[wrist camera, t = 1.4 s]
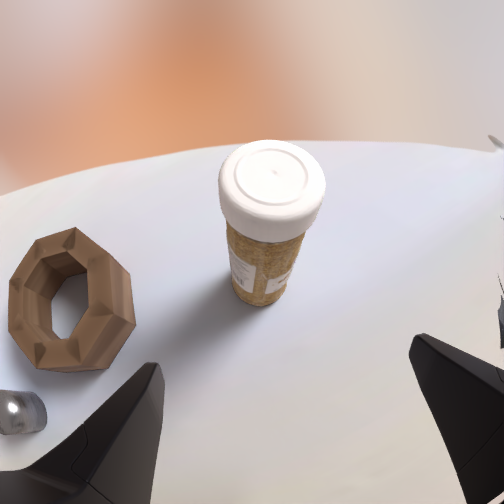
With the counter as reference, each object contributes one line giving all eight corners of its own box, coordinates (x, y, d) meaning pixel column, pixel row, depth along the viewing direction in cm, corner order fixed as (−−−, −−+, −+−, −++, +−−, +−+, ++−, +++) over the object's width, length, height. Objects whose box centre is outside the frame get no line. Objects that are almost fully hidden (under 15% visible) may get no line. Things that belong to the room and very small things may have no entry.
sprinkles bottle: (289, 303, 23) (340, 217, 11) (233, 309, 23) (219, 225, 10) (282, 252, 25) (313, 134, 13) (228, 256, 25) (215, 138, 12)
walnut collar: (91, 396, 19) (62, 397, 15) (22, 320, 21) (-7, 308, 17) (157, 294, 23) (139, 275, 19) (78, 234, 25) (57, 211, 21)
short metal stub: (39, 439, 16) (6, 444, 12) (15, 410, 17) (-18, 409, 13) (52, 412, 18) (18, 414, 13) (27, 383, 19) (-7, 379, 14)
